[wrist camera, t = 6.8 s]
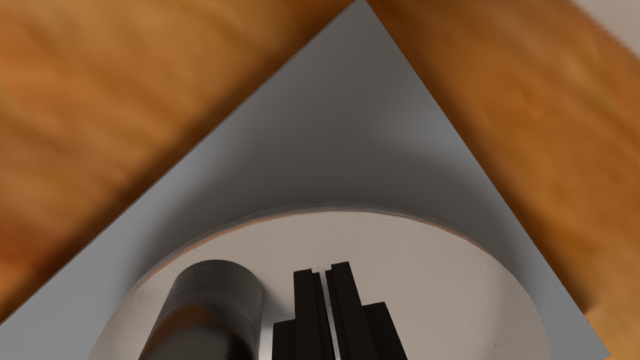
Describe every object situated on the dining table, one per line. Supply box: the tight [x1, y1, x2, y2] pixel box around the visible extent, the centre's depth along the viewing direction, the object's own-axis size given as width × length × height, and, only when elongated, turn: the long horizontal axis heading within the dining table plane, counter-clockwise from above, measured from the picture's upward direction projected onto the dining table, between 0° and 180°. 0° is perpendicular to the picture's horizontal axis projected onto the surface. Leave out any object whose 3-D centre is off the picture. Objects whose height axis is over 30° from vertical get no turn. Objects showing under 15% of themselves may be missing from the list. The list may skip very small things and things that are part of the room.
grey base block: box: [0, 0, 611, 360], centre depth 19 cm, size 24×24×4 cm
